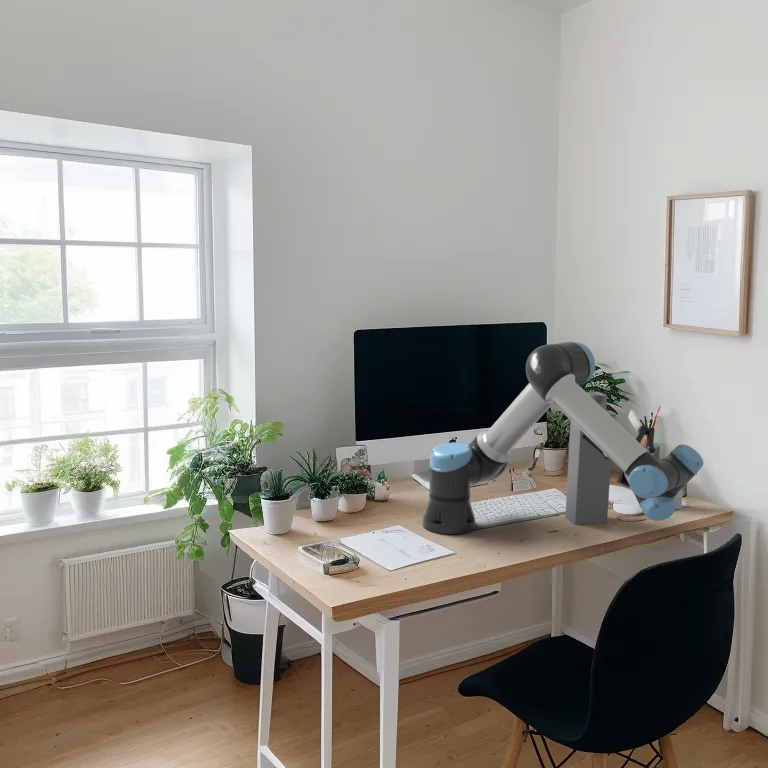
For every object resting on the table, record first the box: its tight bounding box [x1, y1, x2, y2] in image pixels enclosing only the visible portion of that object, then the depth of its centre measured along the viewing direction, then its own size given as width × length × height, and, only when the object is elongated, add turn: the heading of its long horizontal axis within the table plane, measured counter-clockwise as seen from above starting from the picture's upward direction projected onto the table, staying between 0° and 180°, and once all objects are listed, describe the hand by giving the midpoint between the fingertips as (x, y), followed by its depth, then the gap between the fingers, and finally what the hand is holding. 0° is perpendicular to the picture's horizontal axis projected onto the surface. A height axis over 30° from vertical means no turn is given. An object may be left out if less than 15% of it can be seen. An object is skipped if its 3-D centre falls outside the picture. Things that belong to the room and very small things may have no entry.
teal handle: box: [585, 391, 618, 421], centre depth 223 cm, size 6×16×6 cm, turn 10°
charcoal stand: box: [565, 420, 612, 525], centre depth 230 cm, size 10×7×32 cm
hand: (607, 413), depth 218 cm, fingers open, 13 cm apart
